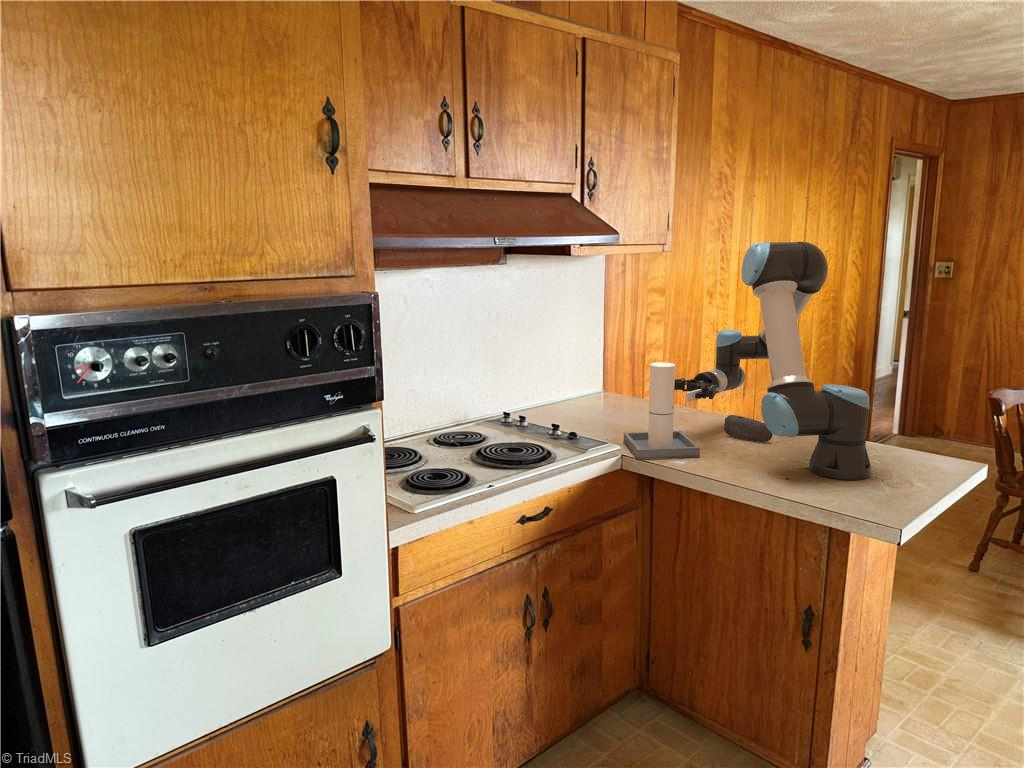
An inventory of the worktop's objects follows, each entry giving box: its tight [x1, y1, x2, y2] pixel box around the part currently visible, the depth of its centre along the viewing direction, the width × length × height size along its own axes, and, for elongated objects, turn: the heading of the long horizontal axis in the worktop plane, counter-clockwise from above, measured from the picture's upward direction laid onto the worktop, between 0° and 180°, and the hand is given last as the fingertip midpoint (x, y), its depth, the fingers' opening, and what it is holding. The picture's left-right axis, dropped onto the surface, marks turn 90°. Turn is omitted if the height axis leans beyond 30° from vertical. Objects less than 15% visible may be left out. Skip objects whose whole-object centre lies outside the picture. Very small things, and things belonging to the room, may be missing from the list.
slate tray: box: [623, 430, 701, 461], centre depth 217 cm, size 18×18×3 cm
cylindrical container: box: [647, 361, 676, 448], centre depth 214 cm, size 7×7×25 cm
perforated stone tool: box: [723, 414, 774, 443], centre depth 225 cm, size 15×5×7 cm, turn 46°
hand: (668, 393), depth 216 cm, fingers open, 13 cm apart
